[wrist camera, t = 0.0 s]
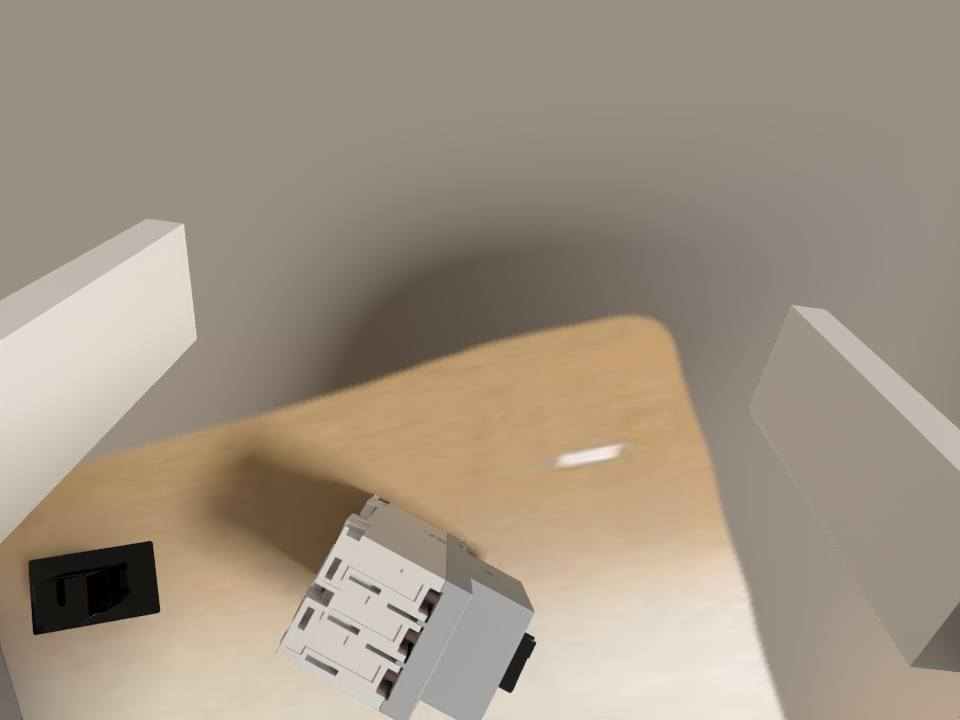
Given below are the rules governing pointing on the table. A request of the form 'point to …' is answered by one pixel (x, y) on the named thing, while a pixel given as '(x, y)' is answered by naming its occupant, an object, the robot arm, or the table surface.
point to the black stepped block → (93, 587)
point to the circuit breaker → (410, 619)
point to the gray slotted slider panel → (7, 695)
